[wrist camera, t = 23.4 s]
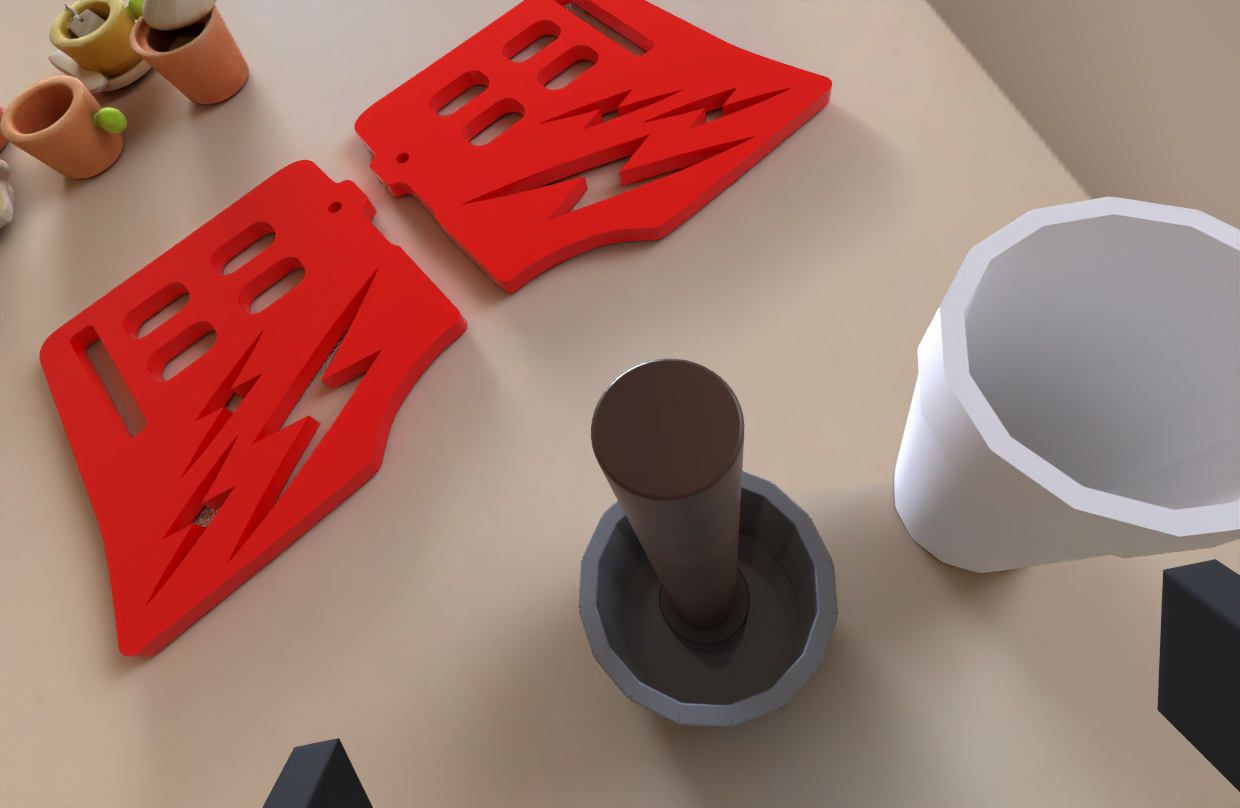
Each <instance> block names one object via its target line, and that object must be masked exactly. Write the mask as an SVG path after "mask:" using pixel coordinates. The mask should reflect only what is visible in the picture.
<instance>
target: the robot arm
mask: <svg viewBox="0 0 1240 808" xmlns="http://www.w3.org/2000/svg"><path fill="white" fill-rule="evenodd" d="M1158 711H1159V712H1160V713H1161V714H1162V715H1163V716H1164V717H1165V718H1166V719H1167V720H1168V721H1169V722H1170V723H1171V724H1172V725H1173V726H1174V727H1175V728H1176V729H1177V730H1178V731H1179V732H1180V733H1181V734H1182V735H1183V736H1184V737H1185V738H1186V739H1187V740H1188V741H1189V742H1190V743H1191V744H1192V745H1193V746H1194V747H1195V748H1196V749H1197V750H1198V751H1199V752H1200V753H1201V754H1202V755H1203V756H1204V757H1205V758H1206V759H1207V760H1208V761H1209V762H1210V763H1211V764H1212V765H1213V766H1214V767H1215V768H1216V769H1217V770H1218V771H1219V772H1220V773H1221V774H1222V775H1223V776H1224V777H1225V778H1226V779H1227V780H1228V781H1229V782H1230V783H1231V784H1232V785H1233V786H1234V787H1235V788H1236V789H1237V790H1238V791H1239V792H1240V575H1238V574H1237V573H1235V572H1234V571H1232V570H1231V569H1229V568H1228V567H1226V566H1225V565H1223V564H1222V563H1220V562H1219V561H1217V560H1216V559H1215V560H1210V561H1205V562H1200V563H1195V564H1190V565H1185V566H1180V567H1175V568H1171V569H1166V570H1163V589H1162V614H1161V638H1160V662H1159V687H1158ZM263 808H373V807H372V805H371V803H370V801H369V799H368V797H367V795H366V793H365V791H364V788H363V786H362V784H361V782H360V780H359V778H358V776H357V774H356V772H355V770H354V768H353V766H352V764H351V762H350V760H349V758H348V756H347V754H346V752H345V750H344V748H343V745H342V743H341V741H340V739H339V738H338V739H333V740H328V741H323V742H318V743H313V744H308V745H303V746H299V747H294V749H293V751H292V753H291V755H290V757H289V759H288V761H287V762H286V764H285V766H284V768H283V770H282V772H281V774H280V776H279V777H278V779H277V781H276V783H275V785H274V787H273V789H272V791H271V793H270V794H269V796H268V798H267V800H266V802H265V804H264V806H263Z"/></svg>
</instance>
